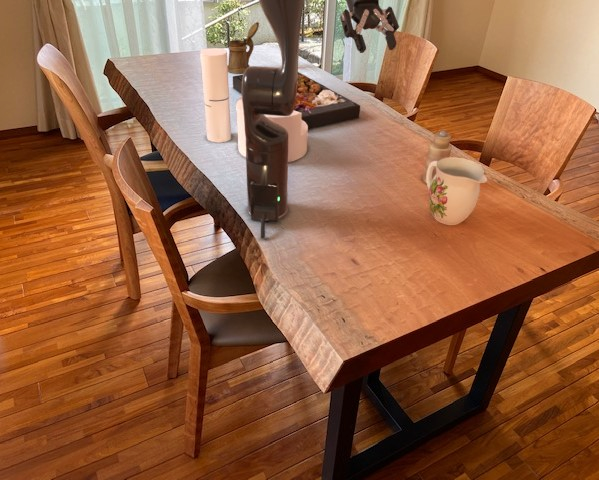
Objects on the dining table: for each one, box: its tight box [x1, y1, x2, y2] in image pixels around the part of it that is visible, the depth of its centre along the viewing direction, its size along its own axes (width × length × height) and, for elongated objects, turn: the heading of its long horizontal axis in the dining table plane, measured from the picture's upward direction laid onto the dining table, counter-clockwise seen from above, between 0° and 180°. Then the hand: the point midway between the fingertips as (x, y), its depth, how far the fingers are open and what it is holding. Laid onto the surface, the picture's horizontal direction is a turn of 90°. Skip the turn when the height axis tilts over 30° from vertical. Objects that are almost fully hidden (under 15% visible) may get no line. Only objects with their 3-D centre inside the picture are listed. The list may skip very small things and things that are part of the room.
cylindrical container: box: [199, 47, 232, 144], centre depth 142 cm, size 7×7×25 cm
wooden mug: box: [227, 21, 260, 74], centre depth 198 cm, size 9×14×18 cm, turn 112°
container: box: [235, 96, 309, 163], centre depth 141 cm, size 20×20×13 cm
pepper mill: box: [422, 130, 453, 184], centre depth 128 cm, size 6×6×14 cm
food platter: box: [232, 71, 361, 131], centre depth 172 cm, size 45×25×10 cm, turn 32°
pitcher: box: [426, 156, 488, 226], centre depth 114 cm, size 11×18×14 cm, turn 24°
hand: (378, 49), depth 121 cm, fingers open, 8 cm apart
